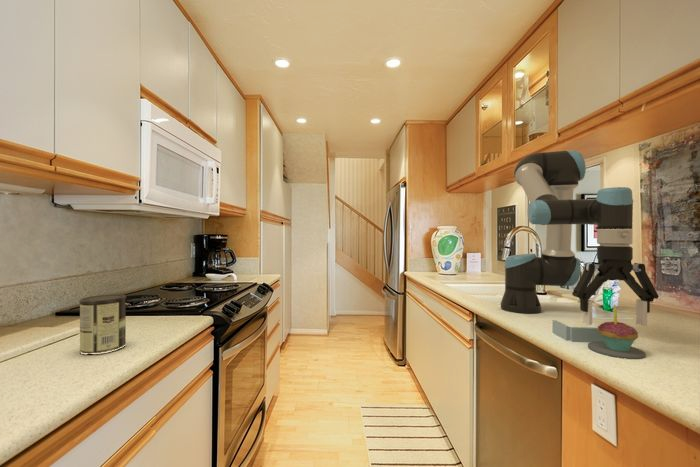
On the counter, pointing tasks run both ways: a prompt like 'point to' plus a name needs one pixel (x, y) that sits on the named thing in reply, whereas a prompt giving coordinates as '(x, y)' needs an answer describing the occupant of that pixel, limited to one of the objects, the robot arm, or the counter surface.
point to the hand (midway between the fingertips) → (614, 324)
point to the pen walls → (576, 333)
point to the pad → (602, 349)
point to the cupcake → (617, 334)
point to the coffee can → (102, 323)
